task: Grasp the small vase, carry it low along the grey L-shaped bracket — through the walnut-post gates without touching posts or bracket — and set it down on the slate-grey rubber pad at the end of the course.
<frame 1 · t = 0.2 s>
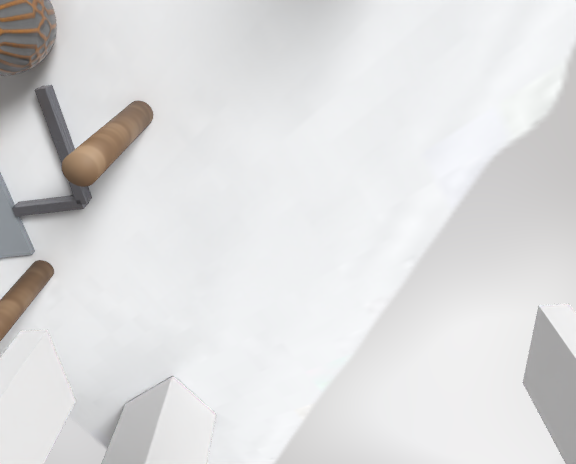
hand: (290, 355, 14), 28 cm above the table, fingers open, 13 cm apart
grey l-shaped bracket: (87, 198, 42), on the table
milk carton: (172, 406, 54), on the table
posts: (60, 123, 39), on the table
vase: (23, 14, 35), on the table
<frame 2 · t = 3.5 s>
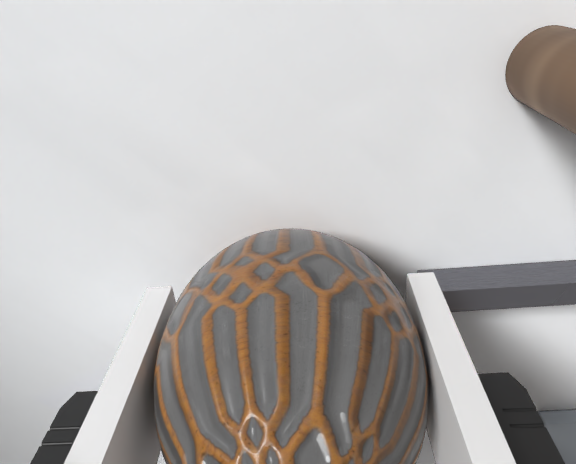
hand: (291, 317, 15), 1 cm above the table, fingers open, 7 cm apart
posts: (509, 274, 16), on the table
vase: (290, 286, 16), on the table, touching gripper
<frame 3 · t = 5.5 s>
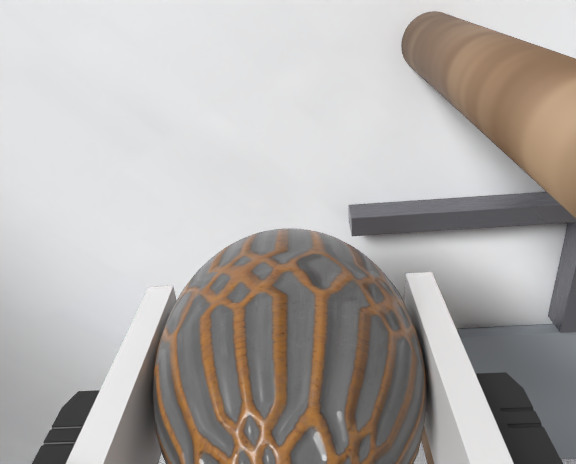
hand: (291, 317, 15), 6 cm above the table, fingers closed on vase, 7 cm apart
posts: (421, 209, 20), on the table
vase: (290, 286, 16), point 5 cm above the table, touching gripper
pad: (539, 392, 25), on the table
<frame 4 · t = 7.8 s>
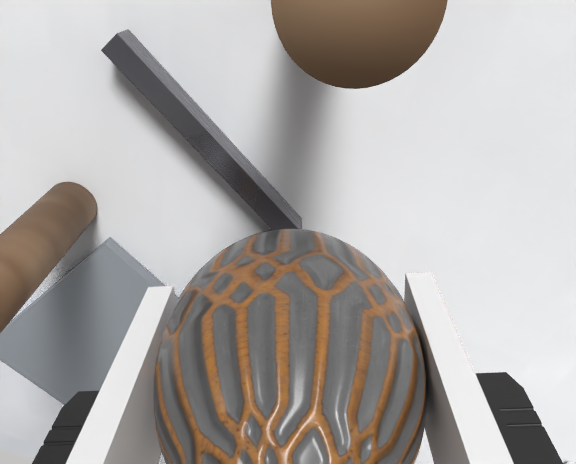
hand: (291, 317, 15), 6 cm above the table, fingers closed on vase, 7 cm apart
grey l-shaped bracket: (294, 224, 20), on the table
posts: (182, 103, 18), on the table
vase: (291, 286, 16), point 5 cm above the table, touching gripper
pad: (120, 350, 24), on the table
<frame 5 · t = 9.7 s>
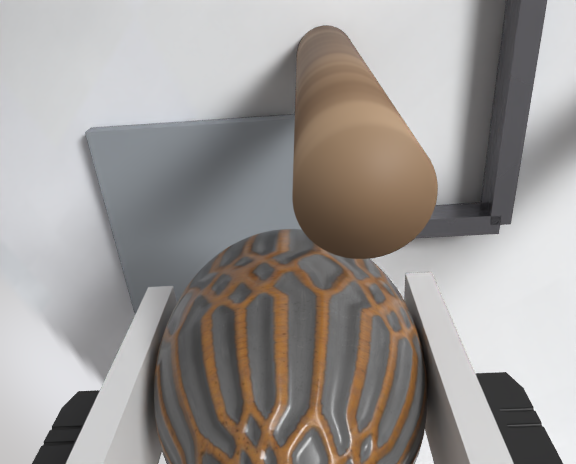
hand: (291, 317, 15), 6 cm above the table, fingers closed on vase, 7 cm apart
grey l-shaped bracket: (489, 211, 20), on the table
posts: (512, 42, 17), on the table
vase: (291, 286, 16), point 5 cm above the table, touching gripper
pad: (223, 225, 21), on the table
when the fingers open (3 cm above the table, at t = 11.5 s): vase stays where it is, resting on pad.
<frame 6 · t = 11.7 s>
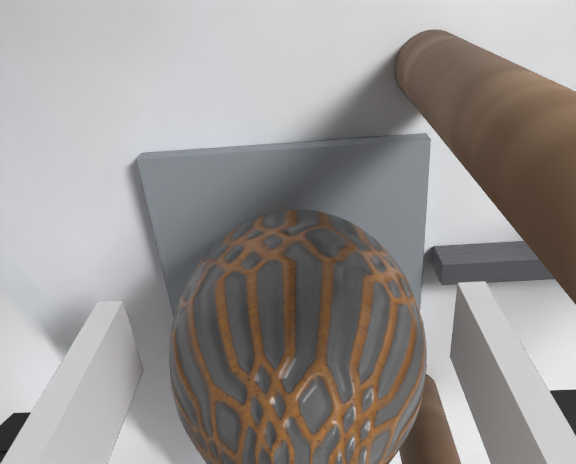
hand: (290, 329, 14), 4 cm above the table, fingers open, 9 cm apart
vase: (298, 268, 17), resting on pad
pad: (292, 263, 18), on the table
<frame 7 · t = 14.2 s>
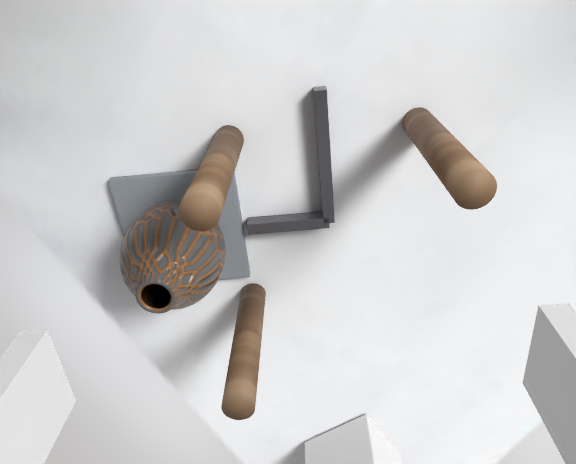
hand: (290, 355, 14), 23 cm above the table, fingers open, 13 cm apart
grey l-shaped bracket: (328, 215, 37), on the table
milk carton: (353, 445, 49), on the table
posts: (322, 131, 34), on the table
vase: (185, 228, 37), resting on pad
pad: (183, 227, 37), on the table
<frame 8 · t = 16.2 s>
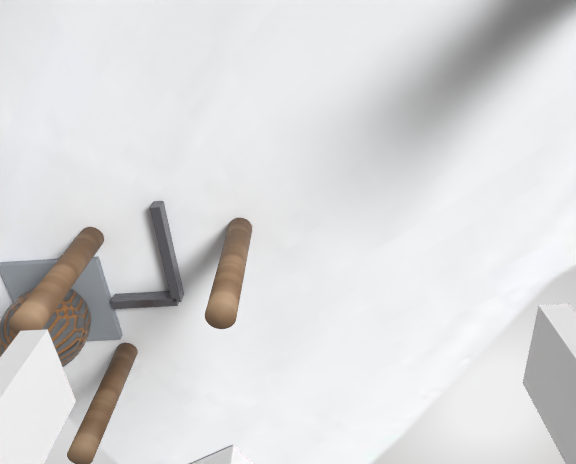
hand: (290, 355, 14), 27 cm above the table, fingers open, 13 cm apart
grey l-shaped bracket: (179, 294, 45), on the table
posts: (165, 232, 42), on the table
vase: (64, 302, 46), resting on pad
pad: (64, 300, 46), on the table
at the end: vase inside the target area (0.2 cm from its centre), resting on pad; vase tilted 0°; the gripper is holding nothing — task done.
